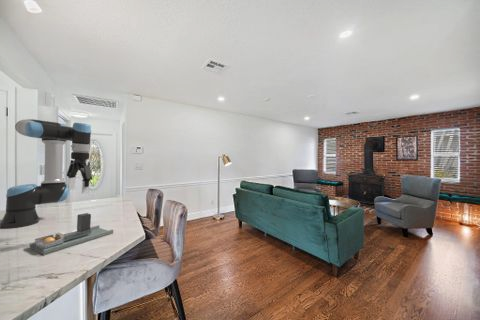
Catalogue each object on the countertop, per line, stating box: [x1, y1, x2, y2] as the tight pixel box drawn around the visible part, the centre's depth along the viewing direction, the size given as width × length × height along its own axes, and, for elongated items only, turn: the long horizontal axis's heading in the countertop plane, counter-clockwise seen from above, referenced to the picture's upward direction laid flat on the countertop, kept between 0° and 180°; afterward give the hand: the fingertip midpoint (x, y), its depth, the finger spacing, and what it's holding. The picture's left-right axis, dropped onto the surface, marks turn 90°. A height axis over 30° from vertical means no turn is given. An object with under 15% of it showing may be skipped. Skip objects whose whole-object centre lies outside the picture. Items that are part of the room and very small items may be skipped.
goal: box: [34, 234, 63, 251], centre depth 85 cm, size 10×6×4 cm, turn 65°
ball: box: [44, 237, 55, 242], centre depth 85 cm, size 4×4×4 cm
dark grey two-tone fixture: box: [54, 212, 92, 243], centre depth 93 cm, size 5×13×11 cm, turn 155°
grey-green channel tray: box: [28, 224, 114, 256], centre depth 94 cm, size 14×28×2 cm, turn 155°
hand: (78, 191), depth 101 cm, fingers open, 13 cm apart
